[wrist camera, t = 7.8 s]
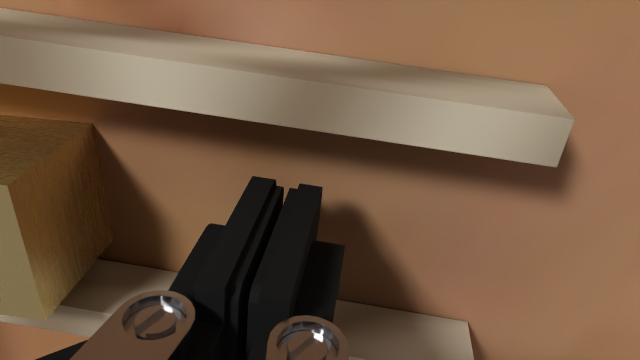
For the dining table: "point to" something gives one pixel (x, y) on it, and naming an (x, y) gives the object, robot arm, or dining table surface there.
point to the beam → (285, 110)
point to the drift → (48, 212)
